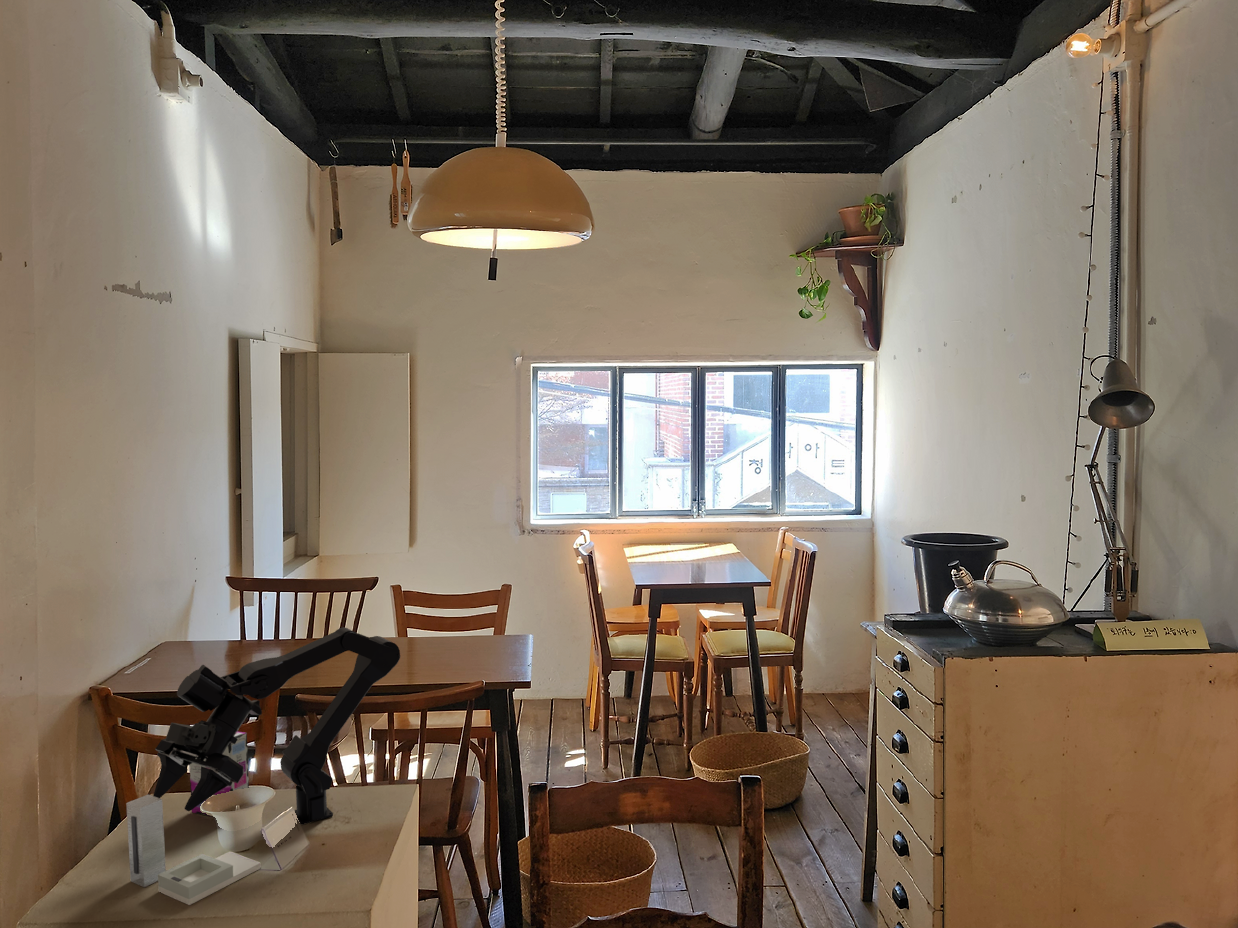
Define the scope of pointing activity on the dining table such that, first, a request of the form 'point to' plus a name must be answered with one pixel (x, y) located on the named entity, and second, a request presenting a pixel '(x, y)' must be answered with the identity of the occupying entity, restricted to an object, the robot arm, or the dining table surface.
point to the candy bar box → (234, 752)
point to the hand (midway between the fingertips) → (170, 804)
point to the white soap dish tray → (204, 876)
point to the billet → (146, 839)
